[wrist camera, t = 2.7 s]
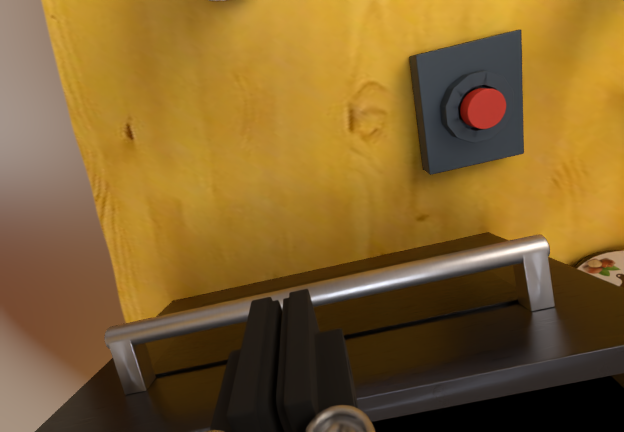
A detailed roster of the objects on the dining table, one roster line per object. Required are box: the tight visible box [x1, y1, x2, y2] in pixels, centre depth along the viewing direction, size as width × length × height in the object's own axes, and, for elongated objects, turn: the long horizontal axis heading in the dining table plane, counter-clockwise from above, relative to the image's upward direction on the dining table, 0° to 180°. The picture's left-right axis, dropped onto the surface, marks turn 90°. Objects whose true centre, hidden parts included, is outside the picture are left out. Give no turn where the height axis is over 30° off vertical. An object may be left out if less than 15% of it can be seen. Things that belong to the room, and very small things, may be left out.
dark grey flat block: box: [409, 30, 524, 175], centre depth 37 cm, size 12×10×4 cm
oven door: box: [35, 232, 624, 432], centre depth 32 cm, size 6×40×26 cm, turn 103°
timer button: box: [460, 88, 506, 129], centre depth 35 cm, size 4×4×2 cm
